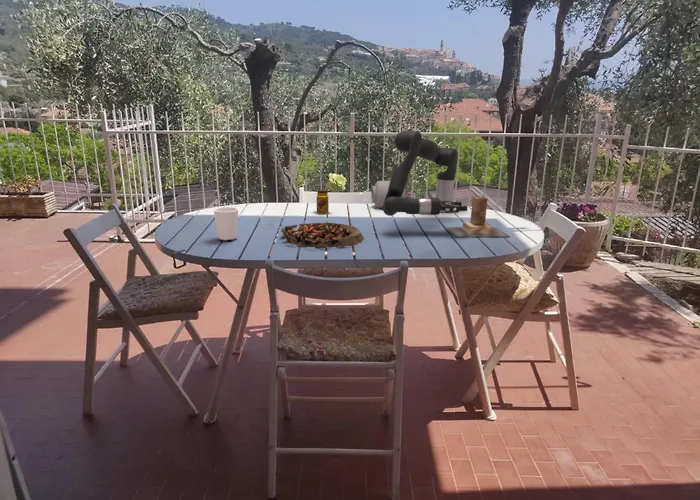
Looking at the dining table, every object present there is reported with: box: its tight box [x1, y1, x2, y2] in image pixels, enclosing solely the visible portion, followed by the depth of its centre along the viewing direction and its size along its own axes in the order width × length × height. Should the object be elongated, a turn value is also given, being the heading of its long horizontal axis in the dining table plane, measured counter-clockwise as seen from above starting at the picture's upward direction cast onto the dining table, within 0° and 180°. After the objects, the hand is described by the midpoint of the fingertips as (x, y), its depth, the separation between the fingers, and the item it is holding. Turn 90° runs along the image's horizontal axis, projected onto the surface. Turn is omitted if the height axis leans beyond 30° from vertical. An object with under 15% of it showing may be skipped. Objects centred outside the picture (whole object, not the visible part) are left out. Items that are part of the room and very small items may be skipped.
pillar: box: [470, 196, 488, 226], centre depth 217 cm, size 5×5×12 cm
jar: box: [360, 180, 407, 209], centre depth 267 cm, size 19×15×25 cm
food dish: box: [280, 222, 365, 249], centre depth 206 cm, size 35×33×8 cm
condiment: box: [313, 189, 332, 216], centre depth 253 cm, size 7×8×12 cm
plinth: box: [445, 220, 511, 239], centre depth 220 cm, size 24×16×4 cm, turn 94°
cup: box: [213, 206, 239, 242], centre depth 201 cm, size 10×10×13 cm
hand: (464, 206), depth 216 cm, fingers open, 8 cm apart
